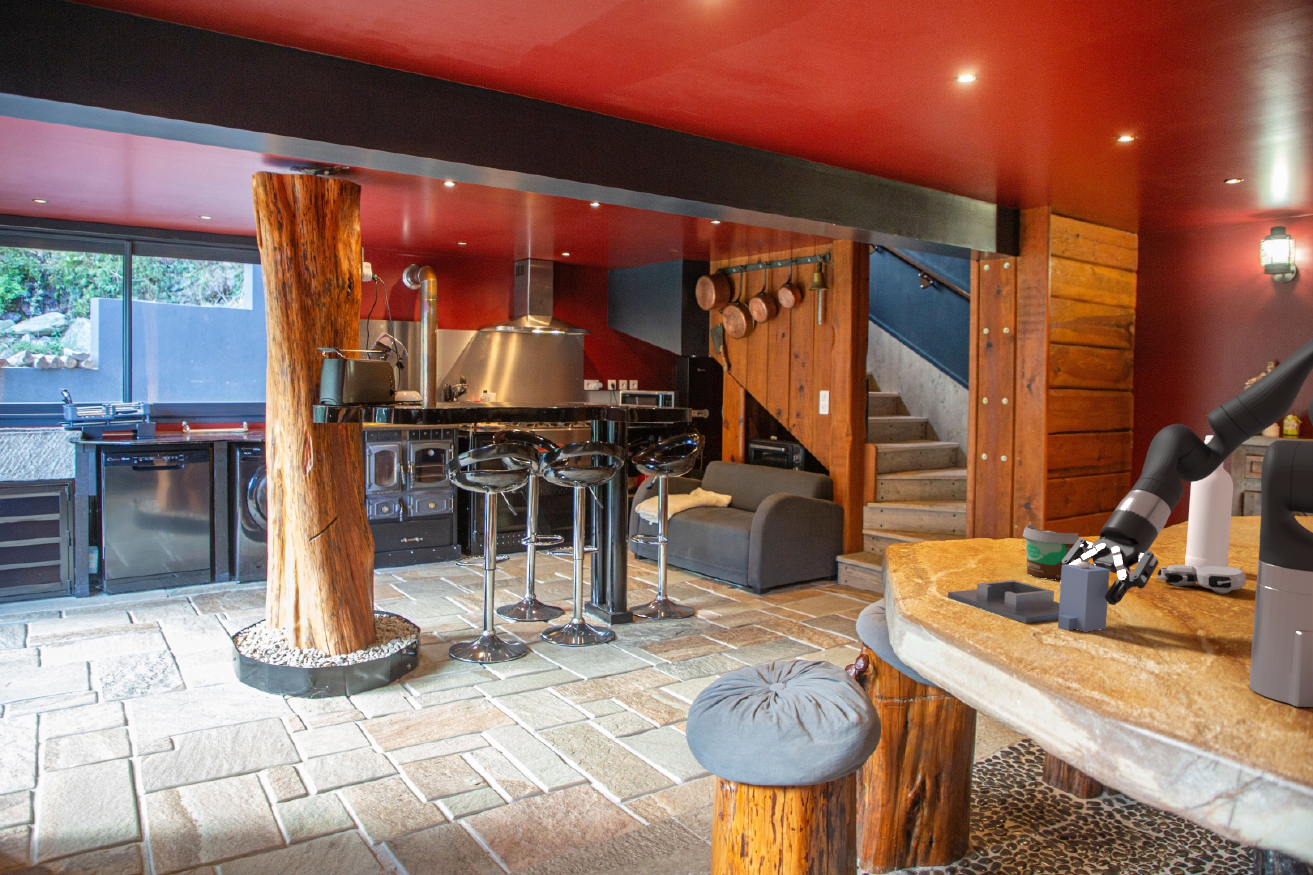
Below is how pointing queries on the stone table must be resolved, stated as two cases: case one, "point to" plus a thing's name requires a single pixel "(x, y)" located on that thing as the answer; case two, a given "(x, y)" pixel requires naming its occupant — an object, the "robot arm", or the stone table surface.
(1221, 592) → the robot toy
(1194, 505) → the bottle
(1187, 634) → the stone table surface
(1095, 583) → the block
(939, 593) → the stone table surface
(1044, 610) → the plate
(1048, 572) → the food container
